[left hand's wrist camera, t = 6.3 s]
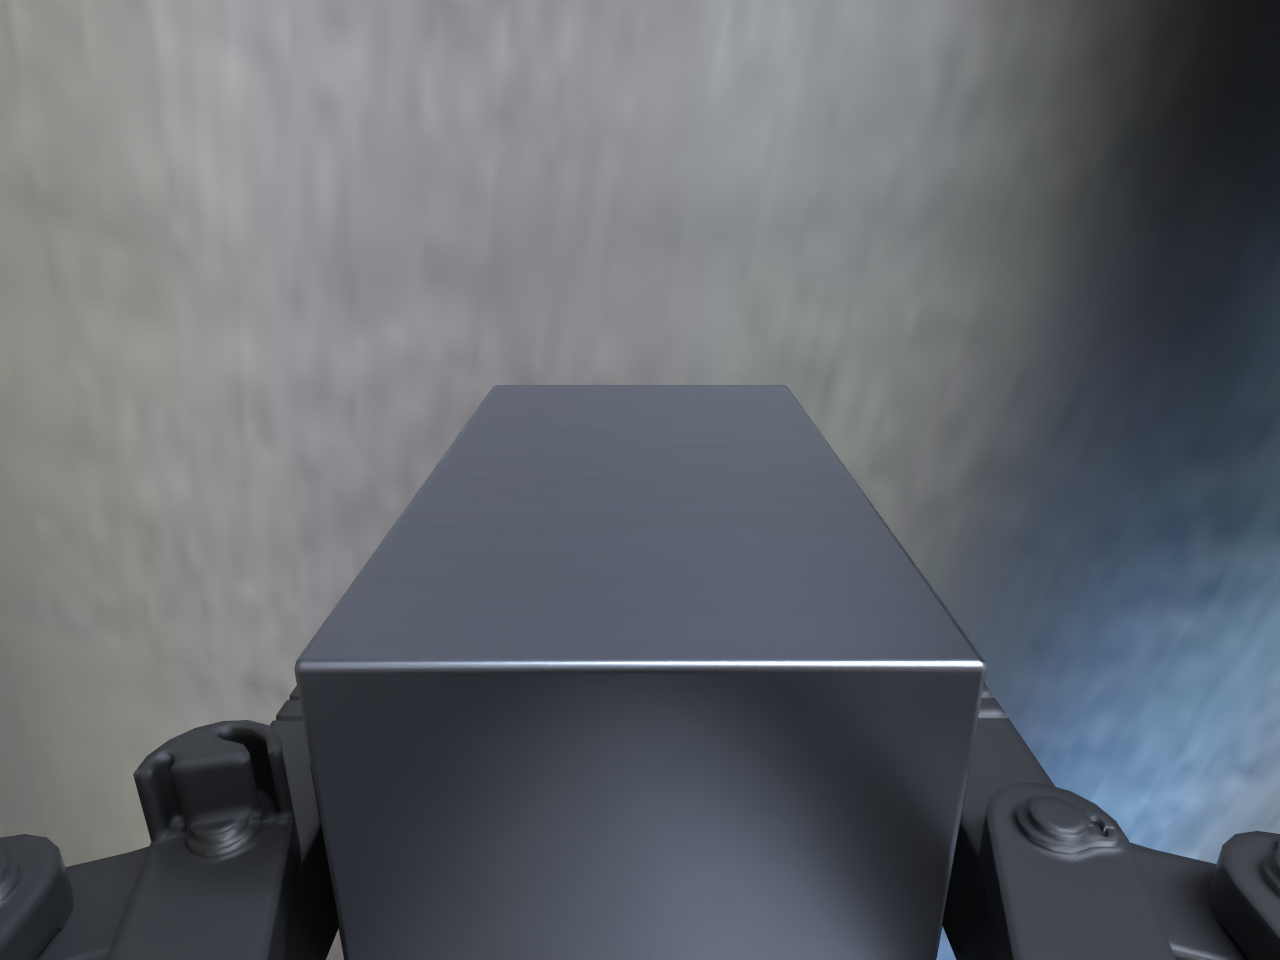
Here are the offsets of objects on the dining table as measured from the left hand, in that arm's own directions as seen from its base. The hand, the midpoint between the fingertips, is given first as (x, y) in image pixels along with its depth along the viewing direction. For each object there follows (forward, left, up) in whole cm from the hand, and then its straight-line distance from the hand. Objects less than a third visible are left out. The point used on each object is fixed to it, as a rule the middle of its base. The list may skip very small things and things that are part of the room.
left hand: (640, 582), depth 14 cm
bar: (+8, 0, -1) cm, 8 cm away
